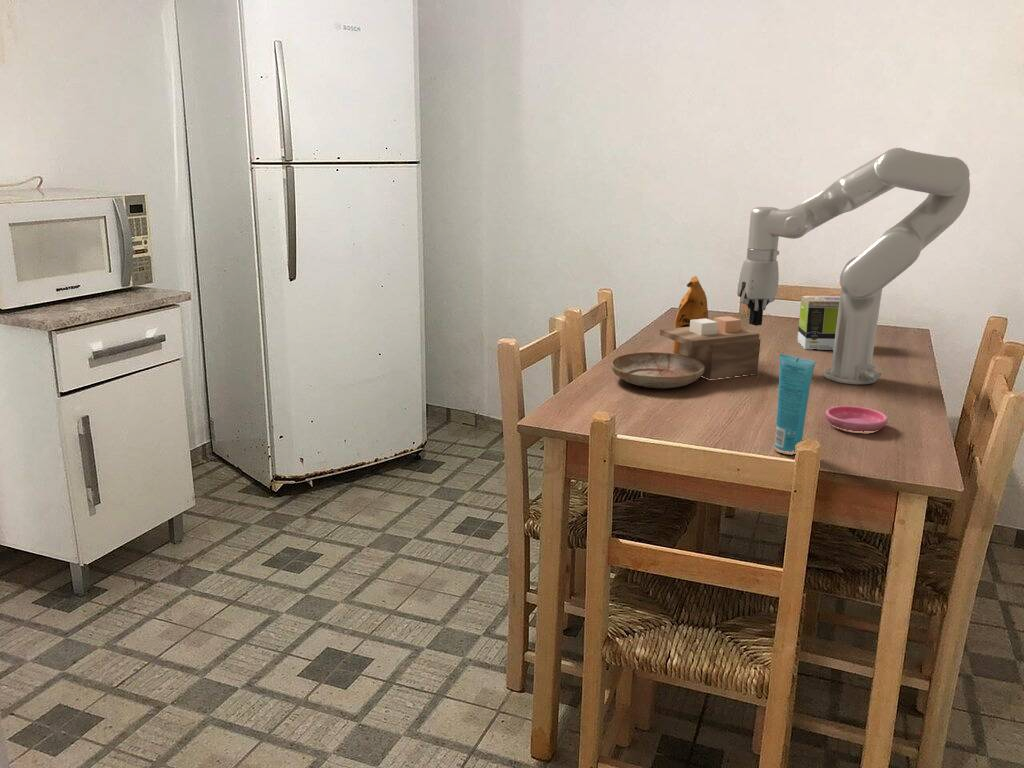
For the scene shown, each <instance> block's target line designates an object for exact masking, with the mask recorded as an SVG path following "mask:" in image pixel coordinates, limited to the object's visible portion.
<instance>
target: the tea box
mask: <svg viewBox="0 0 1024 768" xmlns="http://www.w3.org/2000/svg"><path fill="white" fill-rule="evenodd" d="M839 301H840V295H838V296H837V295H835V296H834V295H801V298H800V307H799V321H798V328H797V343H798V344H799V343H800V344H801V345H800V344H799V345H800V346H801V347H802V346H803V347H802V348H803V349H804V350H813V349H817V350H820V351H824V350H825V351H827V350H828V351H833V350H834V341H835V333H836V325H837V317H838V309H839Z"/></svg>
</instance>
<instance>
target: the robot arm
mask: <svg viewBox="0 0 1024 768" xmlns="http://www.w3.org/2000/svg"><path fill="white" fill-rule="evenodd" d="M970 175H971V174H970V169H969V167H968V165H967V163H965V161H964V160H962V159H960V158H958V157H956V156H955V157H954V156H943V155H938V154H937V155H936V154H932V153H926V152H920V151H914V150H909V149H906V148H903V147H895V148H891V149H888V150H886V151H884V152H883V153H881V154H880V155H878V156H875V158H873V159H871V160H869V161H867V162H866V163H864V164H863V165H860V166H859V167H857V168H856V169H853V170H852V171H850V172H848V173H846V174H844V175H843V176H840V178H838V179H837V180H835V181H833V182H832V184H831V185H829V186H828V187H826V188H825V189H823V190H822V191H820V192H819V193H817V194H815V195H812V197H810V198H808V199H806V200H804V201H803V202H801V203H799V204H798V205H796V206H794V207H791V208H789V209H780V208H778V207H773V206H756V207H753V209H751V211H750V218H749V227H748V240H747V249H746V260H743V263H742V264H741V269H740V273H739V279H738V284H737V285H738V286H737V297H739V298H740V299H739V303H740V304H742V305H746V306H747V308H748V310H749V318H748V319H749V320H748V323H749V324H750V325H752V326H755V327H756V326H757V327H758V326H762V324H763V314H764V311H765V310H766V308H767V306H768V305H769V304H771V303H772V302H775V301H776V297H777V295H778V290H779V281H780V280H779V279H780V278H779V277H780V276H779V272H780V271H779V262H778V260H777V258H778V256H780V251H779V250H778V248H779V237H780V238H785V239H790V240H791V239H792V240H795V239H800V238H802V237H803V236H805V235H806V234H808V233H810V232H811V231H812V230H814V229H816V228H817V227H820V226H822V225H823V224H826V223H827V222H829V221H831V220H833V219H835V218H836V217H839V216H841V215H842V214H845V213H849V212H852V211H855V210H856V209H858V208H860V207H862V206H864V205H865V204H867V203H869V202H870V201H872V200H874V199H876V198H879V197H880V196H881V195H884V194H886V193H887V192H889V191H891V190H893V189H895V188H898V189H903V190H908V191H914V192H920V193H925V194H928V195H927V197H926V198H924V200H923V201H922V202H921V203H920V204H918V206H917V207H915V208H914V209H913V210H912V211H911V212H910V213H909V214H907V215H906V216H905V217H904V218H902V219H901V220H900V221H899V222H898V223H896V224H895V225H893V226H892V227H890V228H889V229H887V230H885V232H883V234H882V235H881V236H880V238H878V239H877V240H876V241H875V242H874V243H872V244H871V245H870V246H869V247H867V248H866V249H865V250H864V251H863V252H861V253H860V254H859V255H857V256H854V257H853V258H851V259H849V260H848V262H847V263H845V266H844V267H843V268H842V271H841V273H840V275H839V285H840V295H839V296H840V301H839V309H838V317H837V325H836V333H835V341H834V350H832V359H831V368H827V369H826V370H824V374H823V376H824V378H826V379H827V380H829V381H832V382H836V383H840V384H847V385H871V384H874V383H876V381H878V380H879V378H881V376H882V372H881V371H876V370H875V368H876V365H875V364H874V363H873V357H874V349H875V343H876V335H877V328H878V321H879V315H880V314H879V313H880V306H881V300H882V292H883V289H884V288H885V287H886V286H888V285H889V284H890V283H891V282H893V280H895V279H896V278H897V277H899V276H900V275H902V274H903V273H904V272H905V271H906V270H907V269H909V268H910V267H911V266H912V265H913V264H914V263H915V262H916V261H917V260H918V258H919V257H920V254H921V252H922V251H923V250H924V249H925V248H926V247H927V246H928V245H930V244H931V243H932V242H934V241H935V240H936V239H937V238H938V237H939V236H940V235H942V234H943V232H945V231H946V230H947V229H948V228H950V227H951V225H953V224H954V223H955V222H956V221H957V220H958V219H959V218H960V216H961V214H963V212H964V209H965V208H966V205H967V203H968V201H969V197H970V192H971V191H970V190H971V183H970V181H971V180H970Z"/></svg>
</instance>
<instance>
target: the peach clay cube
mask: <svg viewBox="0 0 1024 768" xmlns="http://www.w3.org/2000/svg"><path fill="white" fill-rule="evenodd" d="M713 321H716V322H718V328H717V330H718V331H721V332H724V333H727V332H737V331H741V328H742V319H740V318H738V317H733V316H730V315H728V316H727V315H726V316H718V317H713Z"/></svg>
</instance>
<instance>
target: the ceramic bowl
mask: <svg viewBox="0 0 1024 768" xmlns="http://www.w3.org/2000/svg"><path fill="white" fill-rule="evenodd" d="M610 368H611V370H612V372H613V373H614V374H615V375H616V376H617V377H618V378H620V379H621V380H623V381H625V382H626V383H629V384H632V385H635V386H638V387H642V386H643V388H648V389H650V388H652V389H674V388H675V389H676V388H680V387H685V386H687V385H689V384H692V383H693V382H696V381H697V380H699V379H700V378H702V377H701V376H702V375H703V373H704V370H705V366H704V365H703V364H702V363H701V362H700V361H699V360H697V359H694V358H692V357H688V356H685V355H680V354H673V352H661V351H660V352H659V351H642V352H632V353H626V354H622V355H618V356H616V357H614V358H613V359H612V360H611V362H610Z"/></svg>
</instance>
